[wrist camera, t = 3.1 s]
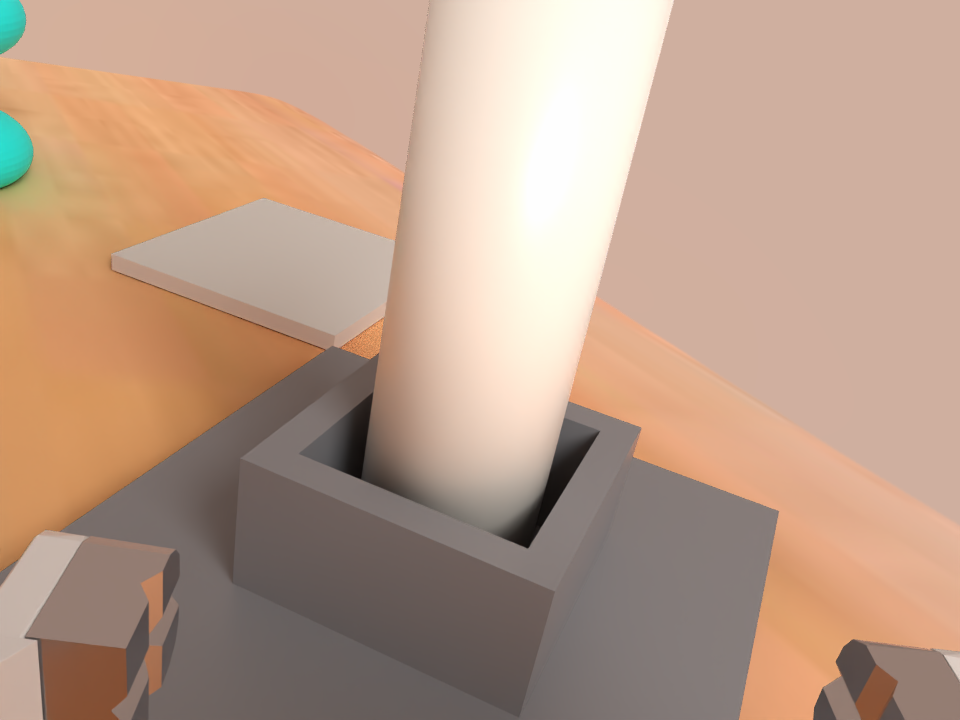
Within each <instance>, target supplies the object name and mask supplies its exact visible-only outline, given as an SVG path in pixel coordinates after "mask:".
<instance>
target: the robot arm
mask: <svg viewBox="0 0 960 720" xmlns="http://www.w3.org/2000/svg"><path fill="white" fill-rule="evenodd" d="M179 577H180V554H179V553H178V551H177V550H176V549H171V548H165V547H158V546H152V545H146V544H139V543H133V542H126V541H120V540H114V539H107V538H101V537H94V536H90V537H87V536H82V535H76V534H69V533H63V532H57V531H51V530H45V531H43V532H42V533H40V534H39V535H37V536H36V537H34V539H33V540H32V541H31V543H30V544H29V546H28V547H27V549H26V550H25V552H24V553H23V554H22V556H21V557H20V559H19V560H18V562H17V563H16V565H15V566H14V567H13V569H12V570H11V572H10V573H9V575H8V576H7V578H6V579H5V580H4V582H3V583H2V585H1V586H0V720H148V712H149V695H150V694H152V693H153V692H155V691H156V690H158V689H159V688H160V687H161V686H162V684H163V681H164V679H165V676H166V673H167V671H168V668H169V665H170V661H171V657H172V653H173V650H174V646H175V642H176V636H177V628H178V620H179V604H178V603H177V602H176V601H175V599H174V598H173V597H172V596H171V595H172V593H173V591H174V588H175V586H176V584H177V581H178V579H179ZM836 664H837V666H838V669H839V671H840V674H841V677H839V678H837V679H836V680H834V681H833V682H831V683H829V684H828V685H826V686H825V687H823V689H822V691H821V693H820V695H819V698H818V700H817V702H816V705H815V707H814V718H813V720H960V652H958V651H949V650H940V649H926V648H919V647H911V646H903V645H895V644H887V643H879V642H871V641H863V640H855V639H853V640H851V641H850V642H849V643H848V644H846V645H845V646H844V647H843V649H842V651H841V653H840V655H839V656H838V658H837V660H836Z"/></svg>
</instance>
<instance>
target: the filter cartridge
mask: <svg viewBox="0 0 960 720" xmlns="http://www.w3.org/2000/svg"><path fill="white" fill-rule="evenodd" d="M673 2H674V0H430V1H429V8H428V15H427V22H426V29H425V36H424V43H423V50H422V58H421V64H420V71H419V78H418V85H417V92H416V99H415V106H414V113H413V120H412V127H411V134H410V141H409V148H408V155H407V162H406V169H405V176H404V183H403V190H402V197H401V204H400V211H399V218H398V225H397V232H396V239H395V246H394V253H393V260H392V267H391V274H390V281H389V288H388V295H387V302H386V309H385V316H384V323H383V330H382V337H381V344H380V351H379V358H378V365H377V372H376V379H375V386H374V393H373V400H372V407H371V414H370V421H369V428H368V435H367V442H366V449H365V456H364V463H363V470H362V477H361V480H363V481H365V482H368V483H370V484H373V485H375V486H377V487H380V488H382V489H385V490H387V491H389V492H392V493H394V494H397V495H399V496H402V497H404V498H406V499H409V500H411V501H414V502H416V503H418V504H421V505H423V506H426V507H428V508H431V509H433V510H435V511H438V512H440V513H443V514H445V515H448V516H450V517H452V518H455V519H457V520H460V521H462V522H464V523H467V524H469V525H472V526H474V527H477V528H479V529H481V530H484V531H486V532H489V533H491V534H493V535H496V536H498V537H501V538H503V539H506V540H508V541H510V542H513V543H515V544H518V545H520V546H523V547H525V548H527V549H528V548H529V547H530V545H531V541H532V538H533V534H534V530H535V526H536V522H537V519H538V515H539V511H540V507H541V503H542V500H543V496H544V492H545V488H546V484H547V481H548V477H549V473H550V469H551V465H552V462H553V458H554V454H555V450H556V446H557V443H558V439H559V435H560V431H561V427H562V424H563V420H564V416H565V412H566V408H567V405H568V401H569V397H570V393H571V389H572V386H573V382H574V378H575V374H576V370H577V367H578V363H579V359H580V355H581V351H582V348H583V344H584V340H585V336H586V332H587V329H588V325H589V321H590V317H591V313H592V310H593V306H594V302H595V298H596V294H597V290H598V287H599V282H600V279H601V275H602V271H603V267H604V264H605V260H606V256H607V252H608V249H609V245H610V241H611V237H612V233H613V229H614V226H615V222H616V218H617V214H618V211H619V207H620V202H621V199H622V195H623V191H624V188H625V184H626V180H627V176H628V173H629V169H630V165H631V161H632V157H633V154H634V150H635V146H636V142H637V138H638V134H639V131H640V127H641V123H642V119H643V116H644V112H645V108H646V104H647V100H648V97H649V93H650V89H651V85H652V81H653V78H654V74H655V70H656V66H657V62H658V58H659V55H660V51H661V47H662V43H663V40H664V36H665V32H666V28H667V24H668V21H669V17H670V13H671V9H672V5H673Z"/></svg>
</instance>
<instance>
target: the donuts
mask: <svg viewBox="0 0 960 720" xmlns="http://www.w3.org/2000/svg"><path fill="white" fill-rule="evenodd" d="M25 25H26V15H25V12H24V9H23V6H22V4H21V3H20V1H19V0H0V54H2V53H4V52H6V51H7V50H9V49H10V48H11V47H13V46H14V45H15V44H16V43H17V42H18V41H19V39H20V38H21V37H22V35H23V33H24V30H25ZM32 159H33V145H32V142H31V139H30V137H29V135H28V134H27V132H26V131H25V129H24V128H23V127H22V126H21V125H20V124H19V123H18V122H17V121H16V120H14V119H13V118H12V117H11V116H9V115H8V114H6V113H4V112H2V111H0V188H2V187H4V186H7V185H9V184H11V183H13V182H15V181H16V180H18V179H19V178H21V177H22V176H23V175H24V174H25V173H26V172H27V170H28V169H29V167H30V165H31V163H32Z"/></svg>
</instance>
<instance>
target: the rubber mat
mask: <svg viewBox="0 0 960 720" xmlns="http://www.w3.org/2000/svg"><path fill="white" fill-rule="evenodd" d="M394 246H395V241H394V240H391V239H388V238H385V237H382V236H379V235H376V234H373V233H370V232H366V231H363V230H360V229H357V228H354V227H351V226H348V225H345V224H342V223H339V222H336V221H333V220H330V219H327V218H324V217H321V216H318V215H314V214H311V213H308V212H305V211H302V210H299V209H296V208H293V207H290V206H287V205H284V204H281V203H278V202H275V201H272V200H269V199H266V198H262V199H259V200H257V201H254V202H251V203H248V204H246V205H243V206H240V207H238V208H235V209H232V210H229V211H227V212H224V213H221V214H219V215H216V216H213V217H210V218H208V219H205V220H202V221H199V222H197V223H194V224H191V225H189V226H186V227H183V228H180V229H178V230H175V231H172V232H170V233H167V234H164V235H161V236H159V237H156V238H153V239H151V240H148V241H145V242H142V243H140V244H137V245H134V246H132V247H129V248H126V249H123V250H121V251H118V252H115V253H112V254H111V257H112V270H114V271H117V272H119V273H122V274H125V275H127V276H130V277H133V278H135V279H138V280H141V281H143V282H146V283H149V284H151V285H154V286H157V287H159V288H162V289H165V290H167V291H170V292H173V293H176V294H178V295H181V296H184V297H186V298H189V299H192V300H194V301H197V302H200V303H202V304H205V305H208V306H210V307H213V308H216V309H218V310H221V311H224V312H226V313H229V314H232V315H235V316H237V317H240V318H243V319H245V320H248V321H251V322H253V323H256V324H259V325H261V326H264V327H267V328H269V329H272V330H275V331H277V332H280V333H283V334H285V335H288V336H291V337H294V338H296V339H299V340H302V341H304V342H307V343H310V344H312V345H315V346H318V347H320V348H323V349H326V350H327V349H328V348H330V347H331V346H334V347H337V348H340V347H341V346H343V345H344V344H346V343H347V342H349V341H350V340H351V339H353V338H354V337H356V336H357V335H359V334H360V333H362V332H363V331H364V330H366V329H367V328H369V327H370V326H372V325H373V324H374V323H376V322H377V321H379V320H380V319H382V318H383V317H384V316H385V309H386V302H387V295H388V288H389V281H390V274H391V267H392V260H393V253H394Z"/></svg>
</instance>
